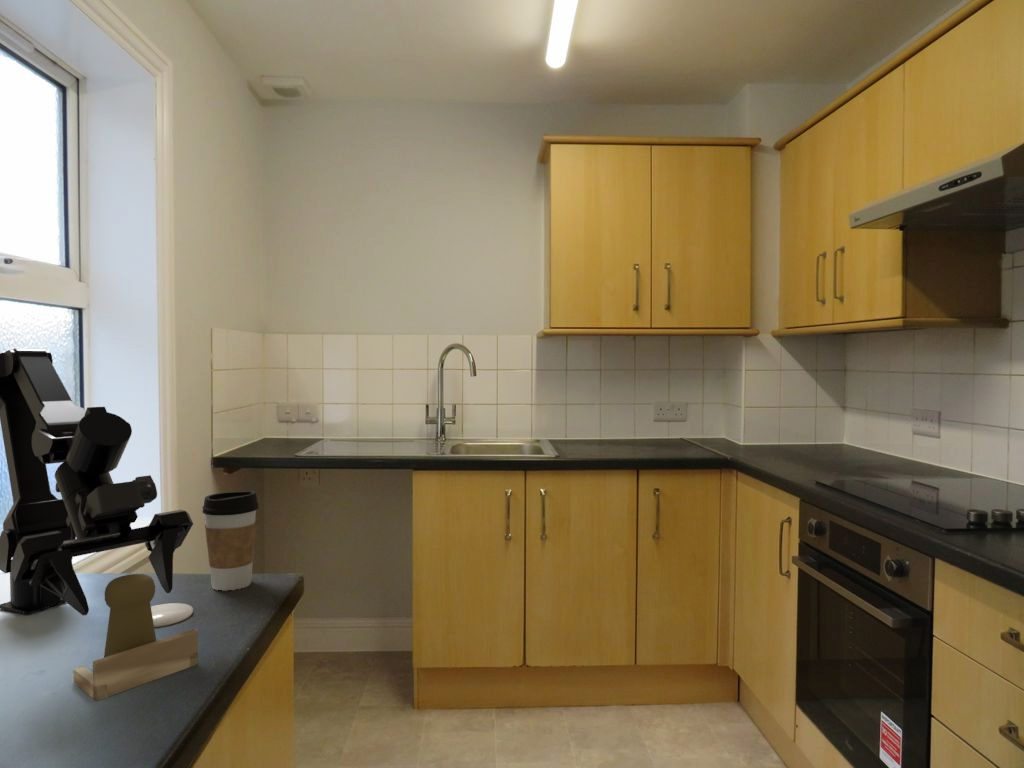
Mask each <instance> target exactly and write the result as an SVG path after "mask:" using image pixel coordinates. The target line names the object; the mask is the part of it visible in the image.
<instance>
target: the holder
mask: <svg viewBox="0 0 1024 768" xmlns="http://www.w3.org/2000/svg"><path fill="white" fill-rule="evenodd" d="M196 665H199V630H196V629H194V628H193V629H189V630H187V631H183V632H181V633H178V634H173V635H170V636H168V637H165V638H162V639H158V640H156V641H155V642H152V643H149V644H146V645H142V646H139V647H136V648H133V649H130V650H127V651H124V652H121V653H117V654H114V655H111V656H108V657H105V658H104V657H103V658H99V659H95V660H93V661H92V671H91V670H89V669H88V668H87V667H85V666H80V667H76V668H73V684H75V685H76V686H78V687H79V688H80V689H81V690H83V692H85V693H86V694H87V695H89V696H90V697H91V698H93V699H94V700H95V701H97V702H98V701H101V700H102V699H106V698H108V697H111V696H114V695H116V694H120V693H122V692H125V691H127V690H131V689H133V688H135V687H138V686H141V685H145V684H146V683H149V682H152V681H155V680H158V679H161V678H163V677H166V676H169V675H172V674H175V673H178V672H180V671H182V670H185V669H188V668H190V667H191V668H192V667H194V666H196Z"/></svg>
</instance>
